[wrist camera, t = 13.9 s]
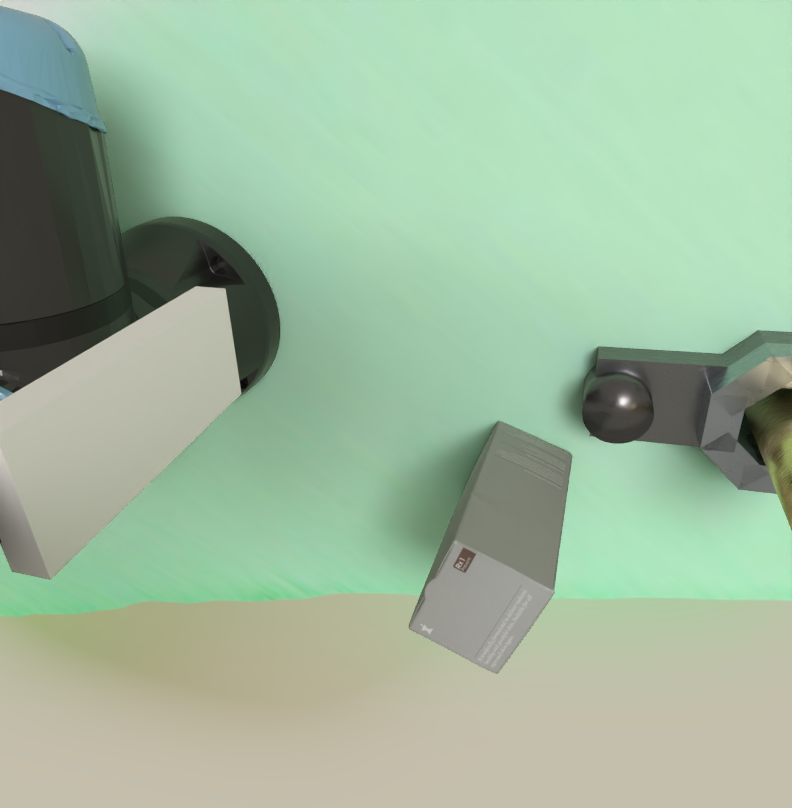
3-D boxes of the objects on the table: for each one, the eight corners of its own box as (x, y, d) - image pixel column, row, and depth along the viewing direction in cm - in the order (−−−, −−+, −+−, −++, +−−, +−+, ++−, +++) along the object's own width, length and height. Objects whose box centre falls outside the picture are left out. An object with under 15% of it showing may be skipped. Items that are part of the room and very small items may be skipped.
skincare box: (531, 524, 52) (506, 686, 38) (451, 488, 52) (400, 636, 39) (578, 448, 47) (569, 602, 34) (491, 409, 48) (448, 546, 34)
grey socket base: (578, 441, 47) (576, 471, 43) (590, 321, 42) (589, 344, 39) (970, 480, 40) (1003, 519, 37) (1033, 344, 36) (1078, 374, 32)
